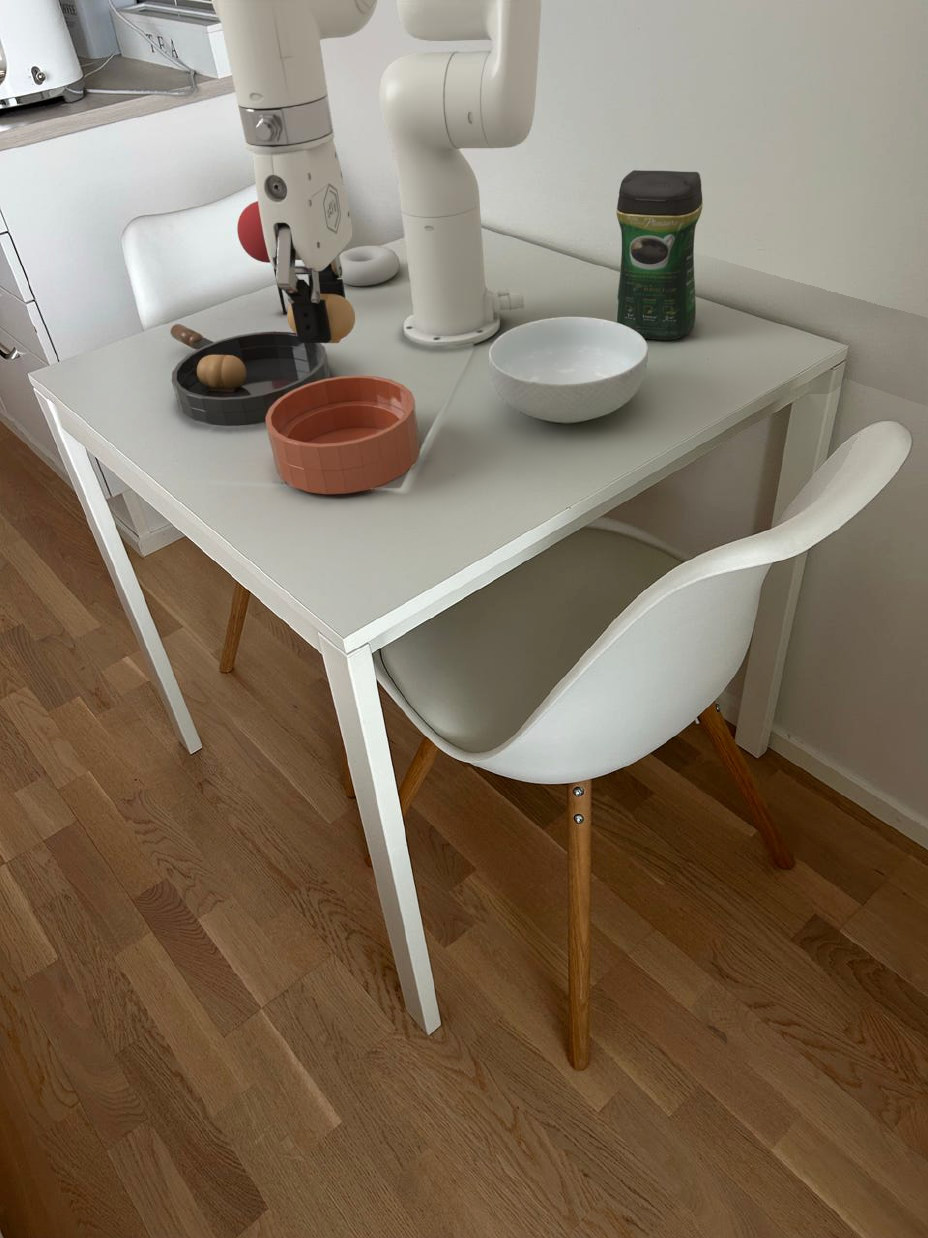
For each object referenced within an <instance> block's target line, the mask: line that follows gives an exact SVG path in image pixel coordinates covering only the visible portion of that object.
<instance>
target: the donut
mask: <svg viewBox="0 0 928 1238" xmlns="http://www.w3.org/2000/svg"><path fill="white" fill-rule="evenodd" d="M339 257H340V261H341V265H342V270H343V274H342V278H337V279H343V285H347V286H348V285H349V286H352V287H367V286H374V285H378V284H382V283H384V282H386V281H389V280H390V279H392V278H393V277H394V276H395V275H396V274H397V273H398V271H399V268H400V265H401V263H400V262H401V261H400V258H399V256H398V255H397V253H396V252H395V251H394V250H393V249H391V248H389V247H386V246H381V245H363V246H356V247H353V248H349V249H347V250H344V251H343V252H340V254H339Z"/></svg>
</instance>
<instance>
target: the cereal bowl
mask: <svg viewBox="0 0 928 1238" xmlns="http://www.w3.org/2000/svg"><path fill="white" fill-rule="evenodd" d="M648 358H649V345H648V343H647V342H646V340H645V338H643V337H642V336H641V335H640V334H639V333H637V332H636V331H634V330H633V329H631V328H629V327H627V326H625V325H622V324H619V323H616V321H612V320H608V319H603V318H598V317H597V318H596V317H587V316H560V317H551V318H543V319H539V320H534V321H529V322H527V323H523V324H521V325H518V326H515V327H513V328H510V329H509V330H507V331H505V332H504V333H502V334H501V335H500V336H498V337H497V338H496V339H495V340H494V341H493V343H492V344H491V346H490V348H489V351H488V363H489V367H488V368H489V371H490V374H489V375H490V377H491V381H492V383H493V387H494V388H495V391H496V392H497V393H498V396H499V397H501V399H502V401H504V402H505V403H506V404H507V405H509V407H510V408H513V410H515V411H516V412H519V413H520V414H523V415H525V416H528V417H530V418H534V419H539V420H543V421H546V422H551V423H555V424H576V423H577V424H578V423H582V422H587V421H589V420H593V419H597V418H600V417H604V416H606V415H609V414H611V413H613V412H614V411H617V410H618V409H621V407H623V406H624V405H625V404H627V403H628V402H629V401H631V399H632V398H633V397H634V396H635V395H636V394H637V392H638V391H639V389H640V388H641V386H642V383H643V382H644V377H645V376H646V371H647V367H648V366H647V365H648Z"/></svg>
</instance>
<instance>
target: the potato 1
mask: <svg viewBox="0 0 928 1238" xmlns="http://www.w3.org/2000/svg"><path fill="white" fill-rule="evenodd" d="M197 376H198V378H199V380H200V382H201V383H202V384H203V385H204V386H206V387H208V388H210V390H211V391H225V392H233V391H234V390H235V389H236V388H238V387H240V386H241V385H242V384H243V383H244V381H245V379H246V368H245V365H244V364H243V362H242V361H241V360H240V359H239V358H237V357H235V356H232V355H208V356H205V357H204V358H202V359H201V360H200V362H199V364H198V366H197Z"/></svg>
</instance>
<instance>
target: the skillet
mask: <svg viewBox="0 0 928 1238" xmlns="http://www.w3.org/2000/svg"><path fill="white" fill-rule="evenodd" d="M213 342H214V343H211V344H209V345H206V346H204V347H201V348H200V349H195V350H194V351H192V352H191V353H189V354H188V355H186V356H184V358H182V359H181V360H180V361H179V362H177V364H176V365H175V367H174V369H172V372H171V383H172V387H173V390H174V393H175V397H176V399H177V400H176V401H177V404H178V406H179V409H180V410H181V412H182V413H183V414H184V415H186V416H187V417H188V418H190V419H192V420H194V421H197V422H199V423H203V424H208V425H212V426H213V425H214V426H223V427H224V426H225V427H226V426H227V427H231V426H232V427H235V426H237V427H239V426H249V425H255V424H256V425H257V424H262V423H266V419H265V418H266V415H267V413H268V410H269V408H270V407H271V406H272V405H273V404H274V403H275V402H276V401H277V400H278V399H279V398H281V397H282V396H284V395H285V394H287V393H288V392H290V391H292V390H294V389H296V388H299V387H301V386H303V385H306V384H309V383H312V382H316V381H319V380H324V379H328V378H332V377H331V371H330V366H329V360H328V355H327V351H326V347H325V346H324V345H323V343H301V342H300V341H299V340H298V337H297V335H296V334H295V333H294V332H293V331H261V332H260V331H259V332H252V333H244V334H239V335H233V336H231V337H226V338H222V339H219V340H216V341H213ZM208 355H232V356H235V357H237V358H239V359H240V360H241V361H242V362H243V364H244V365H245V368H246V379H245V381H244V383H243V384H242V385H241V386H240V387H238V388H236V389H235V390H234V391H233V392H225V391H211V390H210V388H208V387H206V386H204V385H203V384H202V383H201V382H200V380H199V378H198V376H197V366H198V364H199V362H200V360H201V359H202V358H204V357H205V356H208Z"/></svg>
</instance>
